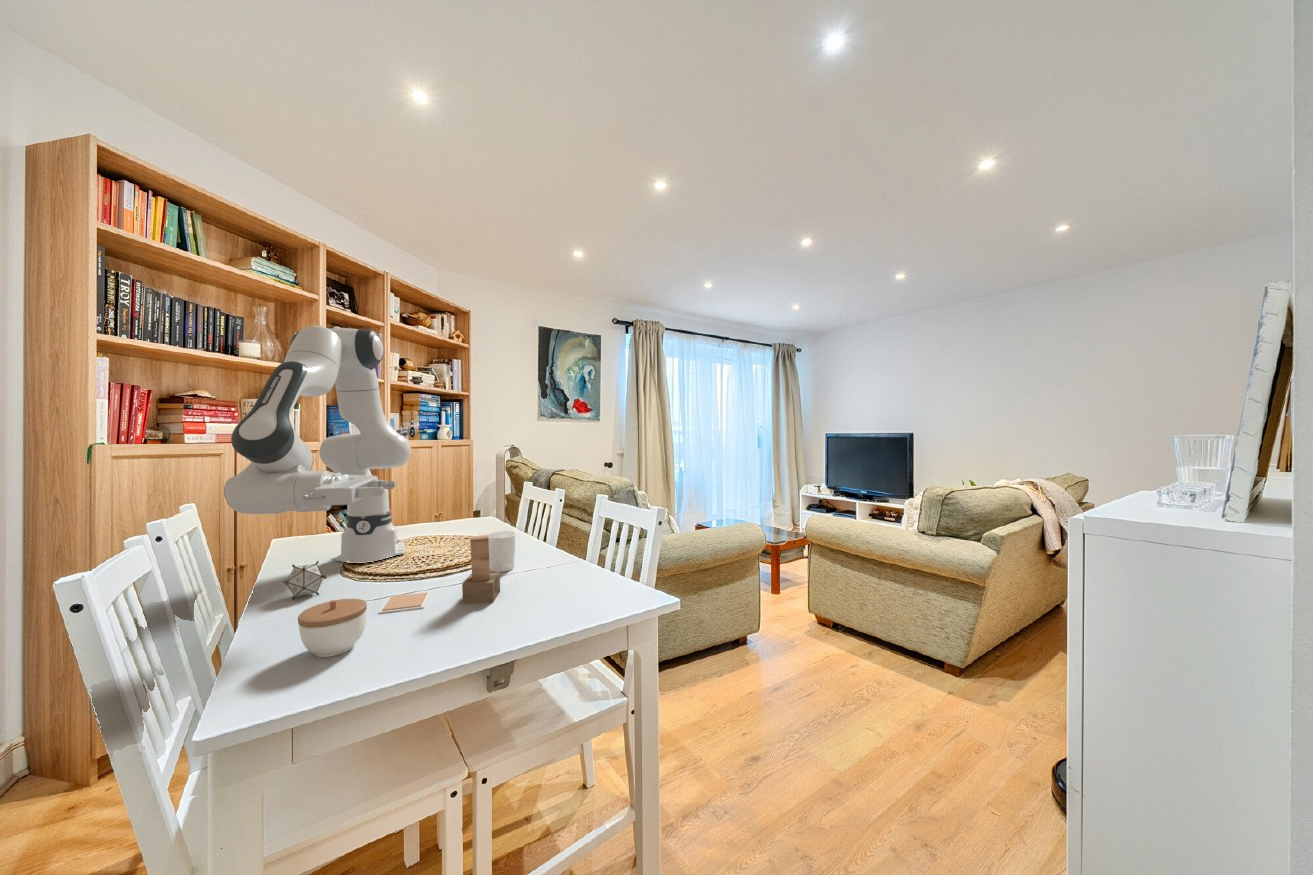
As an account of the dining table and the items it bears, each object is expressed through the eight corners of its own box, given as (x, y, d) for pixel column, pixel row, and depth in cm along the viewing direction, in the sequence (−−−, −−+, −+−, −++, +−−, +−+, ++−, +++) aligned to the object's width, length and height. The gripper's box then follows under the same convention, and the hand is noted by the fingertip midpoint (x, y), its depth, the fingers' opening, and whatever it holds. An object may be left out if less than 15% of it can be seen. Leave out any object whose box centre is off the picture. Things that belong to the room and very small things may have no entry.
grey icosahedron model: (297, 611, 114) (270, 580, 113) (331, 588, 121) (306, 559, 120) (304, 602, 109) (276, 569, 108) (340, 579, 116) (314, 548, 115)
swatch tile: (389, 598, 113) (389, 595, 113) (430, 593, 115) (430, 591, 115) (378, 613, 104) (378, 610, 104) (423, 608, 106) (423, 605, 106)
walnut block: (471, 593, 116) (470, 573, 115) (500, 591, 116) (499, 572, 116) (462, 604, 109) (462, 583, 109) (493, 603, 110) (492, 582, 109)
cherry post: (472, 576, 113) (471, 536, 113) (490, 574, 115) (488, 534, 114) (472, 581, 110) (470, 540, 109) (490, 579, 111) (488, 538, 111)
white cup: (481, 571, 131) (480, 536, 131) (499, 563, 139) (498, 530, 138) (504, 574, 129) (503, 539, 128) (521, 565, 136) (520, 532, 136)
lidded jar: (295, 649, 88) (293, 601, 88) (360, 630, 96) (358, 586, 95) (304, 671, 80) (302, 618, 80) (374, 648, 88) (372, 600, 88)
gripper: (296, 483, 92) (375, 479, 95) (335, 471, 111) (399, 469, 115) (297, 514, 92) (376, 510, 96) (336, 497, 111) (400, 494, 115)
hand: (389, 487), depth 106 cm, fingers open, 8 cm apart
